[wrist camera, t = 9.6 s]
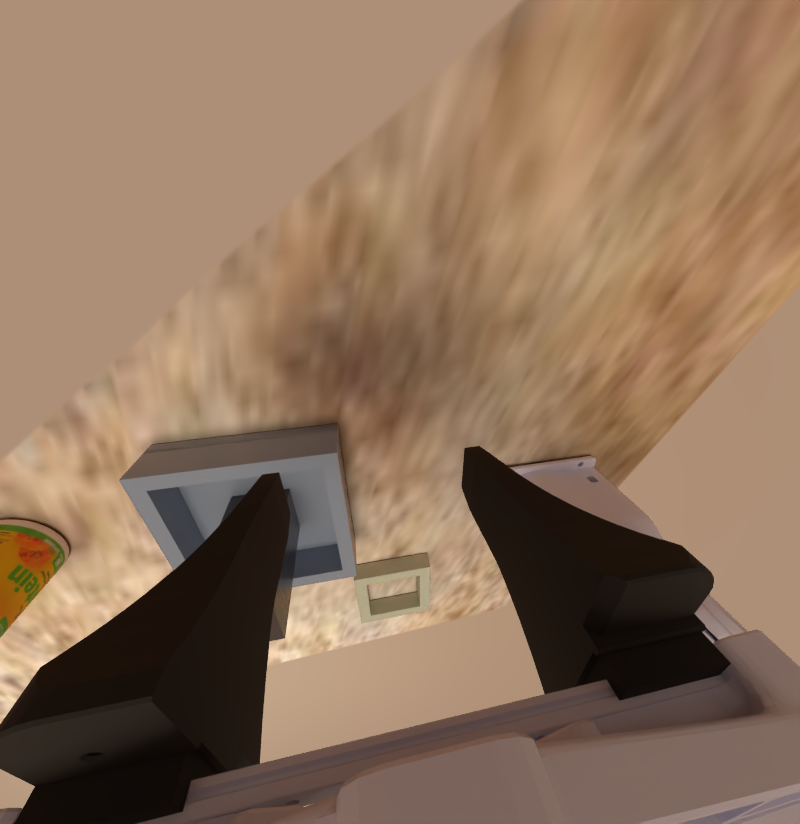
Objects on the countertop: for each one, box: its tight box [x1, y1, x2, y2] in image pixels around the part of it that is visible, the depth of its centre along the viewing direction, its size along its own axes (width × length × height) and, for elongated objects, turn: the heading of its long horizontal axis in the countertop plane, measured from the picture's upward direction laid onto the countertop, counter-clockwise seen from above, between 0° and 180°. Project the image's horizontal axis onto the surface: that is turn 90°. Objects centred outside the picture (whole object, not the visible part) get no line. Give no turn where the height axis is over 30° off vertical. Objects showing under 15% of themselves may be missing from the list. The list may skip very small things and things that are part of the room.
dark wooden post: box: [220, 488, 300, 641], centre depth 20 cm, size 4×4×8 cm
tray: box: [119, 424, 357, 587], centre depth 23 cm, size 12×12×4 cm
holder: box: [354, 553, 430, 623], centre depth 31 cm, size 7×7×2 cm
